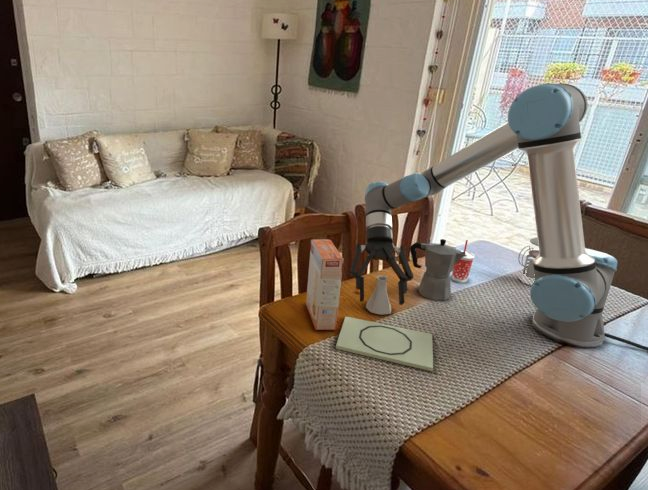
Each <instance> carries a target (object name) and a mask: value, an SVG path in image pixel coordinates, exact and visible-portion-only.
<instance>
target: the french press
mask: <svg viewBox="0 0 648 490" xmlns="http://www.w3.org/2000/svg"><path fill="white" fill-rule="evenodd" d="M529 243H530V244H532V245H534V246H536V247H539V245H538V237H536V236H535V237H532V238H530V239H529ZM526 248H527V250H526V251H524V250H525V249H526ZM523 251H524V253H523ZM526 252H528V254H527V255H526V257H525V261H523V259H524V256H525V254H526ZM521 253H523V254H522V256H521ZM539 254H540V253H539V249H534V247H531V245H526V246H524V247H523V248H522V249H521V250H520V251H519V253H518V260H517V261H518V264H519V265H521V266H522V267H523V269H522V273H523V274H525V270H527V273H526V276H527V277H530V278H535V276H534V266H533V260H534V259H535V258H536V257H537V256H539ZM520 257H521V261H520ZM523 262H524V263H523Z"/></svg>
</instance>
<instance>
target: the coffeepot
mask: <svg viewBox="0 0 648 490" xmlns="http://www.w3.org/2000/svg"><path fill="white" fill-rule="evenodd" d="M439 241H440V243H437V242H436V243H435V242H432V243H424V242H417V241H416V242H414V243H413V244H412V245H410V246H409V252H410V255H411V260H412V266H413V267H414V268H417V269H421V268H422V265H421V264H418V260H419V259H418V257H417V250H416V249H419V250H421V251H424V266H425V268H426V269H425V271H424V272H423V274H422V277H421V281H420V283H419V286H418V288H417V289H418V292H419V294H420V295H421V296H423V297H425V298H427V299H429V300H434V301H446V300H448V299H449V298H450V297H452V291H451V290H452V288H451V286H452V284H451V283H452V281H451V273H452V271H453V268H454V265H455V264H456V263H457V262H458V261H459V260H460V259H461V258H462V257H464V256H466V254H465V253H464V252H462V251H463V250H459V249H457V248H456V247H455V246H452V245H449V244H446V243H447V239H443V238H441V239H440V240H439Z"/></svg>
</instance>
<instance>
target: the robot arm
mask: <svg viewBox="0 0 648 490" xmlns="http://www.w3.org/2000/svg"><path fill="white" fill-rule="evenodd" d="M588 105H589V104H588V98H587V96H586V95H585V93H584V92H583V91H582V90H581V89H580V88H579V87H577V86H575V85H574V84H570V83H552V82H549V83H547V82H545V83H542V84H541V83H540V84H538V85H534V86H532V87H529V88H527V89H525V90H523V91H521V92H520V93H519V94H518V95H517V96H516V97H514V99H513V100H512V102H511V103H510V106H509V107H508V111H507V122H505V123H504V124H502V125H501V126H499V127H497V128H495V129H494V130H492V131H490V132H489V133H487V134H485V135H483V136H482V137H480V138H479V139H477V140H475V141H473V142H472V143H470V144H467V146H465V147H463V148H461V149H460V150H458V151H457V152H455V153H453V154H452V155H450V156H448V157H446V158H444V159H443V160H441V161H439V162H438V163H436V164H434V165H433V166H431V167H429V168H427V169H426V170H423V171H422V172H420V173H419V172H413V173H412V174H409V175H406V176H404V177H402V178H400V179H397V180H396V181H394V182H391V183H389V184H388V183H387V182H384V181H377V182H371V183H369V184H368V185H366V187H365V192H364V193H365V195H364V204H365V230H366V231H365V239H366V240H365V244H361V243H357V244H356V246H355V247H354V248H355V255H354V258H353V261H352V265H351V267H350V270H349V272H348V273H349V274H348V276H349V277H352V278H354V279H355V289H356V290H359V302H361V303H363V302H364V300H365V282H364V281H365V277H364V276H362V275H363V274H364V273H365V270H367V268H368V266H369V264H370V263H371V262H372V260H374V261H378V260H380V261H386V262H387V264H389V267H391V269H392V271H393V272H394V273H395V275H396V276H397V278H398V282H397V289H398V291H397V292H398V304H399V305H400V306H403V305H404V303H405V294H406V293H407V292H408V282H411V281H412V280H413V279H414V274H413V271H412V268H411V266H410V264H409V261H408V259H407V257H406V256H407V255H406V247H405V246H400V247H397V246H395V244H394V239H393V221H392V220H393V219H392V210H396V209H398V208H400V207H403V206H405V205H408V204H411V203H413V202H417V201H419V200H422V199H424V198H427V197H430V196H432V197H433V196H434V195H437V194H439V193H440V192H442V191H443V190H444V189H446V188H447V187H450V186H451V185H453V184H455V183H458V182H459V181H461V180H463V179H465V178H466V177H468V176H470V175H472V174H474V173H476V172H478V171H480V170H482V169H483V168H485V167H488V166H489V165H491V164H493V163H494V162H497V161H498V160H501V159H502V158H504V157H506V156H508V155H509V154H512V153H514V152H515V151H520V152H522V153H523V154H525V155H526V157H527V164H528V172H529V181H530V189H531V197H532V205H533V213H534V220H535V228H536V236H537V237H538V245H539V246H538V250H539V253H540V254H539V256H537V257H536V258H533V266H534V274H535V281H534V283H533V284H532V286H530V291H529V292H530V293H529V294H530V295H529V296H530V299H531V303H532V304H533V305H534V307H535V308H536V310H535V312H534V314H533V316H532V319H531V325H532V326H533V327H534V329H535V330H536V331H538V332H539V333H540V334H542V335H543V336H545V337H547V338H549V339H551V340H554V341H556V342H559V343H561V344H563V345H568V346H572V347H577V348H587V349H588V348H597V347H600V346H601V345H603V342H604V340H605V337H606V338H608V339H612V340H614V341H617V342H621V343H623V344H626V345H630V346H633V347H634V348H638V349H641V350H644V351H646V352H648V346H645V345H642V344H639V343H637V342H634V341H632V340H629V339H625V338H622V337H620V336H616V335H613V334H610V333H606V332H605V328H604V318H603V311H604V308H605V306H606V301H607V300H608V299H607V298H608V296H609V292H610V289H611V285H612V283H613V279H614V276H615V273H616V272H617V271H618V269H617V267H618V260H617V258H615V257H614V256H613V255H610V254H608V253H605V252H602V251H598V250H595V249H592V248H587V247H586V245H585V236H584V235H585V234H584V227H583V219H582V211H581V201H580V193H579V185H578V175H577V167H576V160H575V159H576V158H575V147H576V146H577V145H578V144H579V143H580V141H581V140H582V134H581V122H582V121H583V119H584V118H585V116H586V114H587V112H588ZM364 250H365V252H366V253H367V255H368V256H367V258H366V259H365V261H364V262H363V263H362V265H361V266H360V268H359V270H357V271H356V269H357V266H358V263H359V260H360V257H361V254H362V253H363V252H364ZM394 252H395V253H396V255H397V256H398V260H399V262H400V264H399V263H398V262H397V260H396V259H395V256H394V255H393V253H394ZM400 265H401V266H400ZM401 267H402V268H401Z"/></svg>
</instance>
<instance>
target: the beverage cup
mask: <svg viewBox="0 0 648 490" xmlns="http://www.w3.org/2000/svg"><path fill="white" fill-rule="evenodd" d="M468 241H469V240H468V239H466V240H465V243H464V248H463V250H461V251H462V252H464V253H465V254H466V256H464V257H462V258H461V259H460V260H459V261H458V262H457V263H456V264H455V265H454V268H453V271H452V272H451V280H452V281H454V282H457V283H462V284H464V283H467V282H468V280H469V275H470V272H471V268H472V265H473V262H474V260H475V254H473V253H472V252H469V251H467V246H468Z"/></svg>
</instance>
